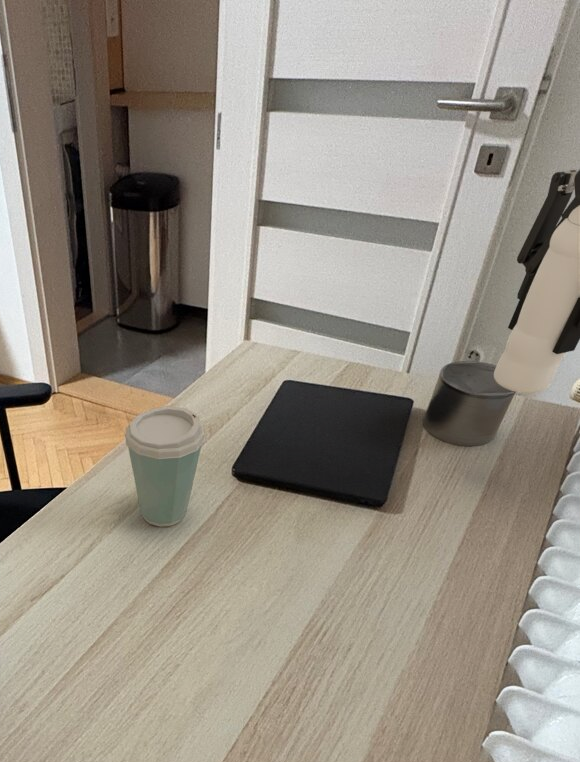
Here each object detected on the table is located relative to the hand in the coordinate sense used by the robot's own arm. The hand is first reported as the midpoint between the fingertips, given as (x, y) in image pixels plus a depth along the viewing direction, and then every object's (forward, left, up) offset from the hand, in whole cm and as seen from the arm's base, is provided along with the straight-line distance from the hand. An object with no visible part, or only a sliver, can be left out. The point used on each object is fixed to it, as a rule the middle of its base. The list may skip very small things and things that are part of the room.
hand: (539, 338), depth 80 cm
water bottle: (0, 0, -6) cm, 6 cm away
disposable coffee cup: (+46, +17, -22) cm, 54 cm away
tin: (0, -15, -22) cm, 26 cm away
